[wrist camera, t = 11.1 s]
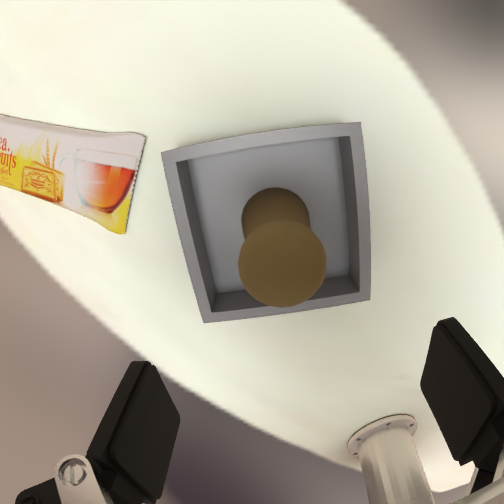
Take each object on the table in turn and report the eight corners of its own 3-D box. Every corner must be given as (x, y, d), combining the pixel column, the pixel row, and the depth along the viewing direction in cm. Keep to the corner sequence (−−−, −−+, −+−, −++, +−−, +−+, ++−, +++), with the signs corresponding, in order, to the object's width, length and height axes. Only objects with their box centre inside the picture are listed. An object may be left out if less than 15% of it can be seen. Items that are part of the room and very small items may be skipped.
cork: (239, 251, 27) (226, 320, 17) (242, 184, 25) (229, 218, 15) (305, 255, 27) (329, 325, 17) (313, 190, 25) (348, 227, 15)
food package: (-35, 181, 24) (-26, 107, 20) (-24, 177, 26) (-15, 107, 22) (120, 240, 26) (142, 136, 23) (129, 232, 29) (151, 135, 25)
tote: (356, 277, 29) (370, 299, 25) (210, 298, 30) (203, 323, 26) (344, 124, 24) (360, 122, 19) (176, 149, 25) (160, 152, 21)
